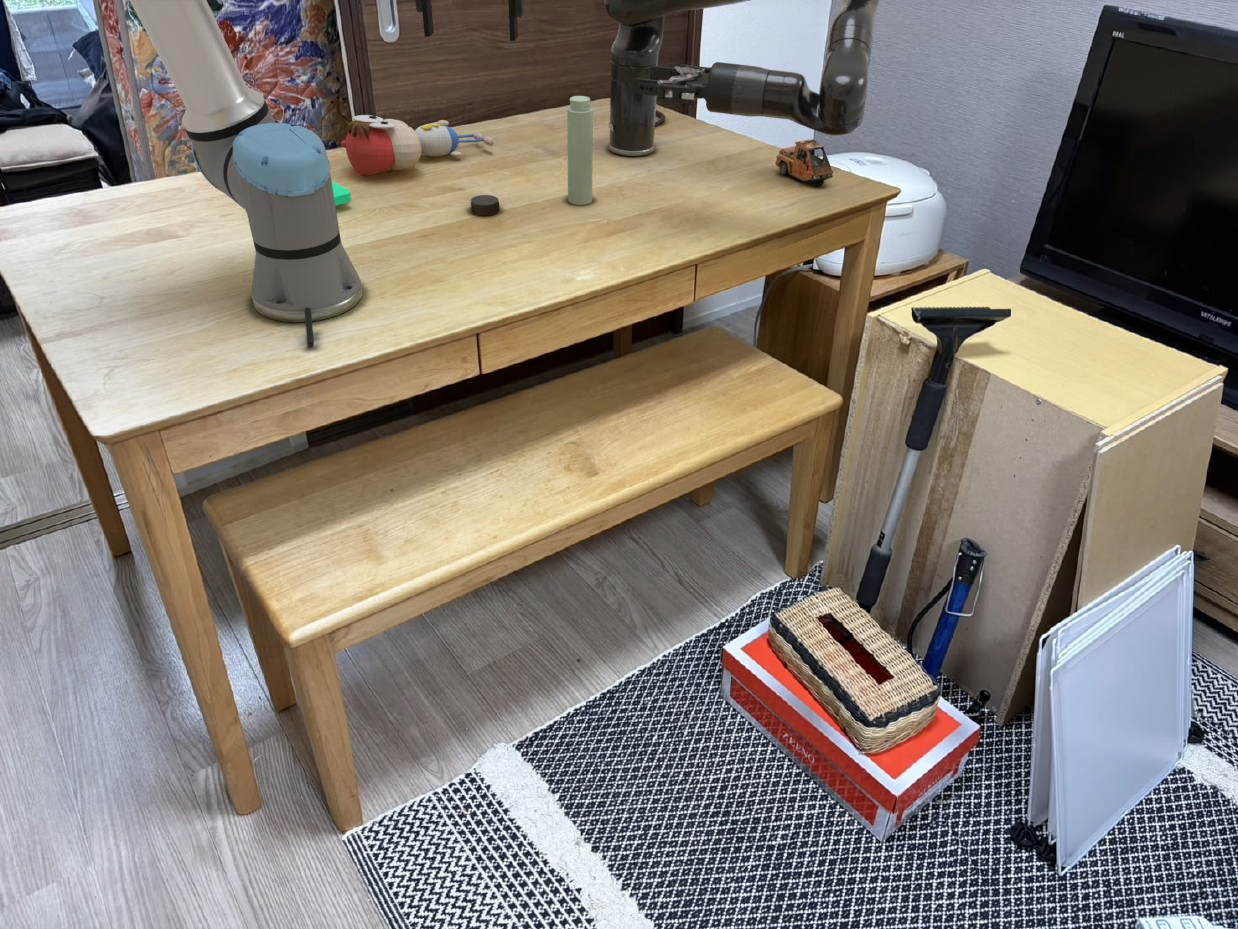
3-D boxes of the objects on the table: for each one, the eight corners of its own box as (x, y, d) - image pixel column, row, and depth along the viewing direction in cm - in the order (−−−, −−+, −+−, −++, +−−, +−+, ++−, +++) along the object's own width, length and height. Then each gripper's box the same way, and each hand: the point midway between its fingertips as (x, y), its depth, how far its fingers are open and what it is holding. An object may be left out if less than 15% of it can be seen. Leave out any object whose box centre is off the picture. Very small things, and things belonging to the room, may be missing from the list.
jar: (584, 194, 171) (584, 93, 160) (596, 202, 168) (597, 99, 157) (563, 198, 169) (562, 96, 158) (575, 206, 166) (575, 103, 155)
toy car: (791, 165, 186) (796, 130, 181) (837, 182, 178) (843, 146, 174) (769, 171, 182) (773, 136, 178) (815, 189, 175) (821, 153, 171)
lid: (489, 217, 161) (489, 207, 159) (465, 212, 162) (465, 201, 161) (504, 208, 164) (504, 197, 163) (481, 203, 166) (480, 192, 165)
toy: (509, 121, 178) (356, 125, 163) (508, 175, 183) (360, 183, 168) (469, 106, 192) (324, 108, 177) (469, 157, 197) (328, 162, 181)
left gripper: (368, -124, 131) (387, 38, 144) (542, -117, 129) (545, 46, 142) (384, -128, 137) (401, 27, 150) (550, -121, 135) (553, 35, 148)
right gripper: (726, 126, 145) (628, 114, 149) (746, 102, 156) (654, 91, 160) (731, 76, 141) (630, 64, 145) (751, 55, 152) (656, 45, 155)
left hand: (471, 37), depth 146 cm, fingers open, 13 cm apart
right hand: (643, 78), depth 152 cm, fingers open, 8 cm apart
